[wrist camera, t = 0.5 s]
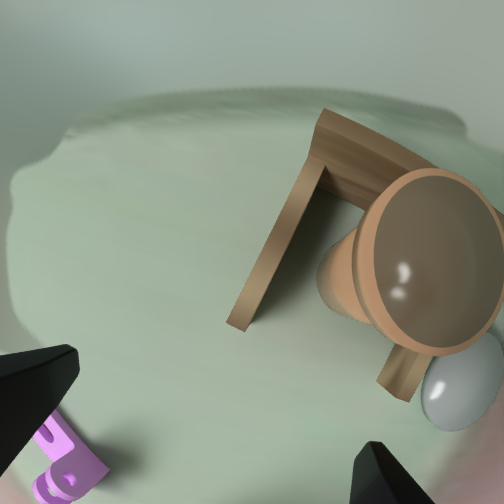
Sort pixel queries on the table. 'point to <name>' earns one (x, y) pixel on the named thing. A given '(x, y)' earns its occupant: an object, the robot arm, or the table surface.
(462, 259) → the terracotta pot
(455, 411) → the grey saucer
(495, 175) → the table surface
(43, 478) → the bracket
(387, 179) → the wooden cradle holder
